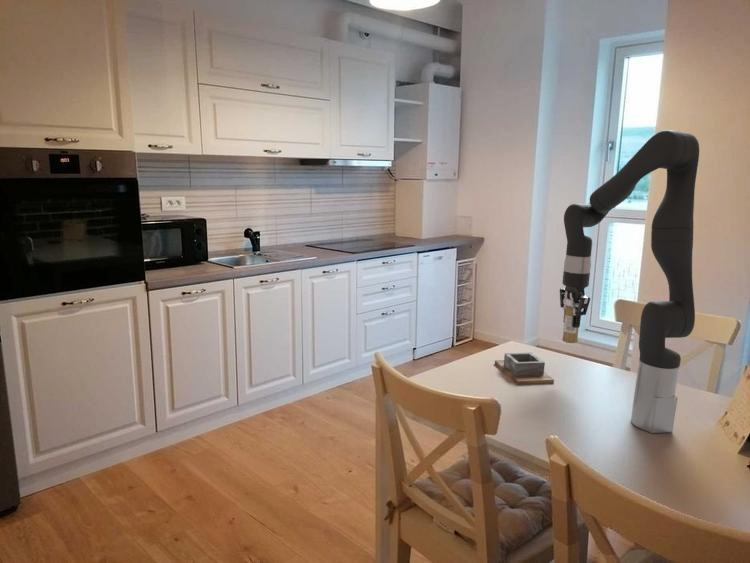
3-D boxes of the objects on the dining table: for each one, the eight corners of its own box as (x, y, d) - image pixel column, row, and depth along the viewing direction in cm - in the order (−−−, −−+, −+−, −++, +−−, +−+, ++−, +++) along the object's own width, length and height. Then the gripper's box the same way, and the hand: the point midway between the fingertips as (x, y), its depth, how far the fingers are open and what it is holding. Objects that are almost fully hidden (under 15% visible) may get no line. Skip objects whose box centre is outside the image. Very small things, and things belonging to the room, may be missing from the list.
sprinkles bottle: (580, 341, 168) (584, 299, 165) (573, 344, 165) (577, 301, 162) (566, 338, 171) (570, 296, 168) (559, 341, 168) (563, 298, 165)
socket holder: (553, 383, 168) (555, 367, 167) (517, 384, 166) (518, 368, 165) (528, 362, 185) (529, 348, 184) (494, 363, 183) (495, 349, 182)
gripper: (601, 274, 157) (595, 331, 160) (575, 266, 171) (570, 318, 174) (578, 274, 156) (572, 332, 159) (553, 266, 170) (548, 319, 173)
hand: (571, 324), depth 167 cm, fingers closed on sprinkles bottle, 4 cm apart
